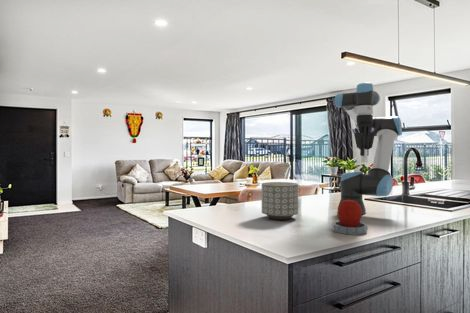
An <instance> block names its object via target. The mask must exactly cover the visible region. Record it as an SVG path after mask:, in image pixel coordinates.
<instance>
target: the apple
mask: <svg viewBox="0 0 470 313" xmlns="http://www.w3.org/2000/svg"><path fill="white" fill-rule="evenodd" d="M339 203H340V202H339ZM338 206H339V207H338ZM338 206H337V218H338V221H340V223H341V225H342V226H344V227H357V226H358V225H359V222H361V219H362V215H363V214H362V209H361V206H360V205H359V203H358V202H356V201H354V200H350V197H349V200H344V201H342V202H341V203H340V205H339V204H338Z"/></svg>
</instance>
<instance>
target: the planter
mask: <svg viewBox="0 0 470 313" xmlns="http://www.w3.org/2000/svg"><path fill="white" fill-rule="evenodd" d="M261 214H264V215H266V216H267V217H269V218H270V219H273V220H279V221H283V220H288V219H291V218H292V217H294V216H296V215H299V183H298V182H287V181H270V182H269V181H268V182H262V183H261Z"/></svg>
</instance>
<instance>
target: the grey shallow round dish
mask: <svg viewBox="0 0 470 313" xmlns="http://www.w3.org/2000/svg"><path fill="white" fill-rule="evenodd" d="M332 229H333V230H332V231H333V232H335V233H338V234H342V235H348V236H349V235H350V236H357V235H359V236H361V235H366V234H367V233H368V224H366V223H364V222H362V221H360V222H359V225H358V226H357V227H344V226H342V225H341V223H340V221H339V220H338V221H337V220H336V221H334V222H332Z"/></svg>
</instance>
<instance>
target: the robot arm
mask: <svg viewBox="0 0 470 313" xmlns="http://www.w3.org/2000/svg"><path fill="white" fill-rule="evenodd" d="M373 86H374V85H373V83H372V82H362V83H358V84H357V85H356V90H355V91H353V92H345V93H343V92H342V93H337V94H335V95H334V99H333V100H334V105H335V107H336V108H339V109H341V108H343V110H344V111H345V112H346V113H347V115H348V116H349V117H350V118H351V120H353V122H354V125H355V128H352V129H351V130H352V133H353V136H354V140H355V146H356V149H358V150H359V151H360V152H359V154H360V157H361V159H360V162H361V163H363V164H364V163H365V164H366V163H368V156H369V151H370V149H372V148H373V146H374V142H375V137H376V138H377V139H378V140H377V144H376V148H375V152H374V153H375V154H374V158H373V162H372V167H371V168H370V169H368V171H367V173H363V171H351V172H343V173H342V174H341V176H340V200H339V203H338V206H337V208H338V207H339V205H340V203H341V202H342V201H344V200H349V197H350V200H354V201H356V202H358V203H359V205H360V206H361V209H362V215H365V214H367V212H366V211H367V210H366V206H365V203H364V199H363V196H372V197H373V196H374V197H387V196H389V195H390V194H391V193H392V190H393V186H394V178H393V175H391V172H390V171H389V169H390V165H391V159H392V153H393V148H394V143H395V141H396V140H398V137H401V136H402V135H403V127H402V121H401V117H400V116H397V115H392V116H375V117H374V116H373V113H374V111H373V110H374V108H373V107H374V106H376V105H378V104H379V103H380V100H381V96H380V93H378V92H377V91H375V90H374V87H373Z"/></svg>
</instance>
